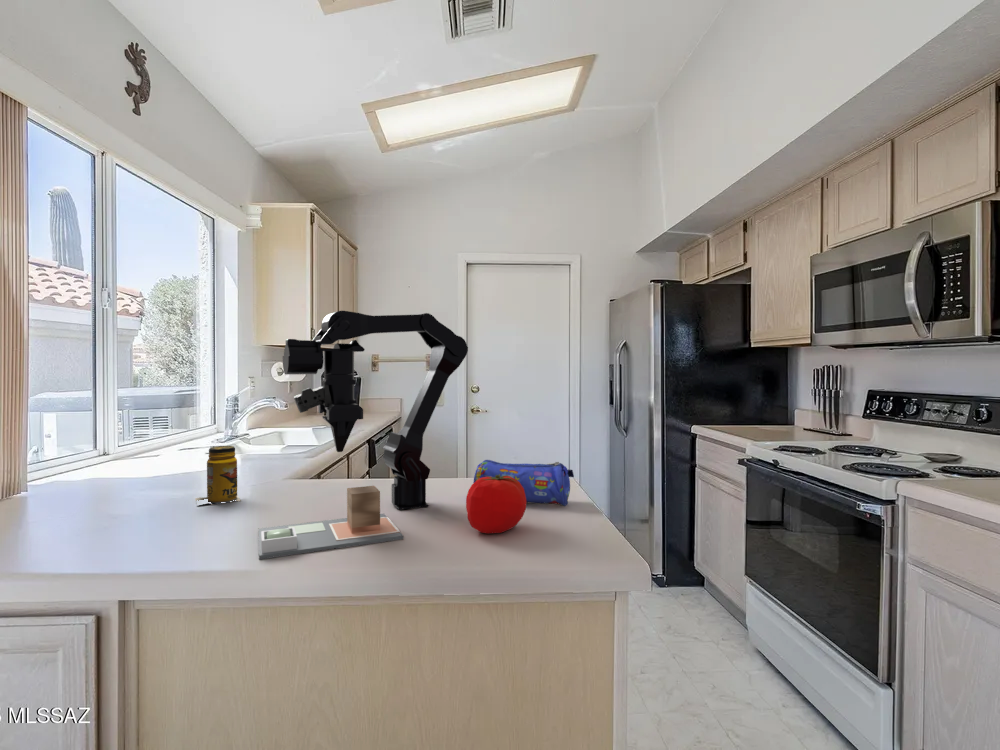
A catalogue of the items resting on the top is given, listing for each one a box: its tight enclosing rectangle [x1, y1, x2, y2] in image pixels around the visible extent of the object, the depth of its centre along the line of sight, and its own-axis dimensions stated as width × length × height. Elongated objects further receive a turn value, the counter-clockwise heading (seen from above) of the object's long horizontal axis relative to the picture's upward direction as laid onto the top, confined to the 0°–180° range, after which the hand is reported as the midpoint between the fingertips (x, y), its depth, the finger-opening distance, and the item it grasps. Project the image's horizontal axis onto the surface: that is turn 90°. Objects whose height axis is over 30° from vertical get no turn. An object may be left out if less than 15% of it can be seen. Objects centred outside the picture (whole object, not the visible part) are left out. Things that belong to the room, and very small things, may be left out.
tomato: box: [465, 475, 528, 535], centre depth 98 cm, size 11×13×10 cm
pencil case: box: [472, 459, 575, 507], centre depth 117 cm, size 22×9×10 cm, turn 76°
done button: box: [267, 529, 290, 539], centre depth 87 cm, size 4×4×2 cm
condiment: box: [194, 445, 241, 503], centre depth 118 cm, size 7×8×12 cm
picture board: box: [257, 513, 404, 560], centre depth 94 cm, size 23×15×3 cm, turn 115°
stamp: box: [346, 485, 381, 534], centre depth 96 cm, size 5×5×7 cm
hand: (339, 451), depth 106 cm, fingers closed
